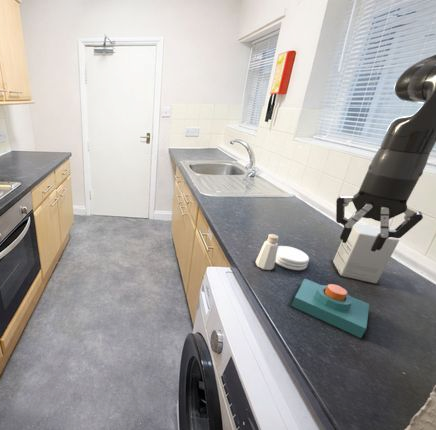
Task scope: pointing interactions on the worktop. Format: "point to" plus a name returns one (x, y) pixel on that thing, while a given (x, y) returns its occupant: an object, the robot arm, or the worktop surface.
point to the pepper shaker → (268, 253)
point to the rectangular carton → (363, 254)
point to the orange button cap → (335, 292)
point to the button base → (332, 308)
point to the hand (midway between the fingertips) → (358, 245)
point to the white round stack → (291, 258)
